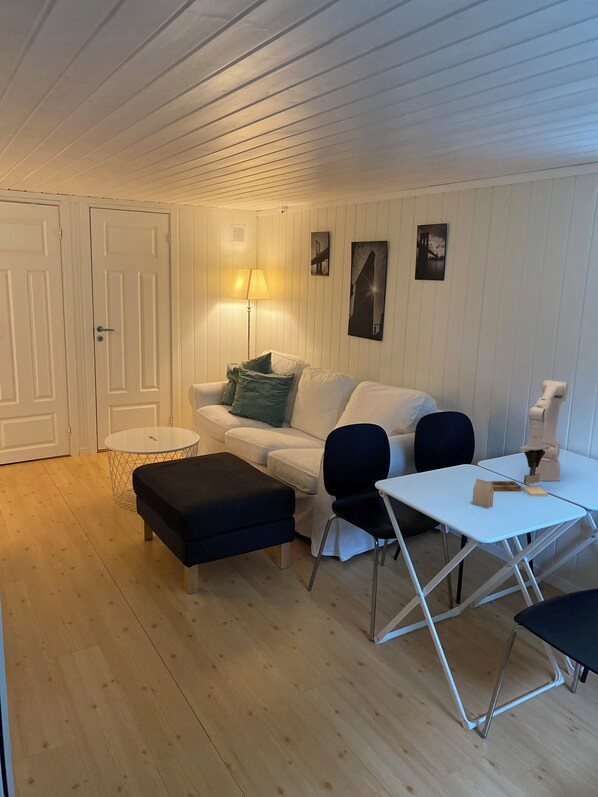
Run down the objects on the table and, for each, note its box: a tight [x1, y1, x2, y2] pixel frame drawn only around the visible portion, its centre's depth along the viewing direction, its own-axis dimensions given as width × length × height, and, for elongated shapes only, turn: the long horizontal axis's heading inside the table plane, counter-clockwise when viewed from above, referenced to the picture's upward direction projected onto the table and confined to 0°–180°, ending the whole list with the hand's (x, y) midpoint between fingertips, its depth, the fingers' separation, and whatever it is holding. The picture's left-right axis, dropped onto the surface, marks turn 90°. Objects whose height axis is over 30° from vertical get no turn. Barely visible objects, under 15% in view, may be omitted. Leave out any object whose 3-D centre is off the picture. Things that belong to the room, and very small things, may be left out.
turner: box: [523, 461, 540, 485], centre depth 259 cm, size 7×1×10 cm, turn 110°
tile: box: [521, 485, 549, 497], centre depth 258 cm, size 7×2×9 cm
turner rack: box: [488, 480, 522, 492], centre depth 262 cm, size 12×7×2 cm, turn 94°
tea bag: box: [471, 478, 495, 509], centre depth 242 cm, size 4×7×10 cm, turn 45°
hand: (533, 467), depth 259 cm, fingers closed on turner, 2 cm apart
